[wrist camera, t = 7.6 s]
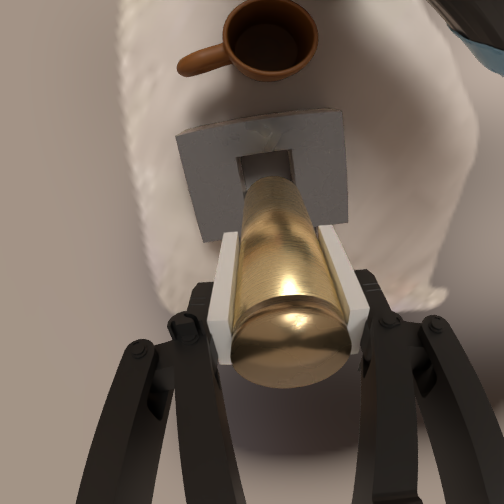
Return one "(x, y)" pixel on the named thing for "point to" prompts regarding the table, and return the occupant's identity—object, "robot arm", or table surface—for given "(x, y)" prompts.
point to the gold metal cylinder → (284, 294)
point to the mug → (260, 42)
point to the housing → (261, 141)
